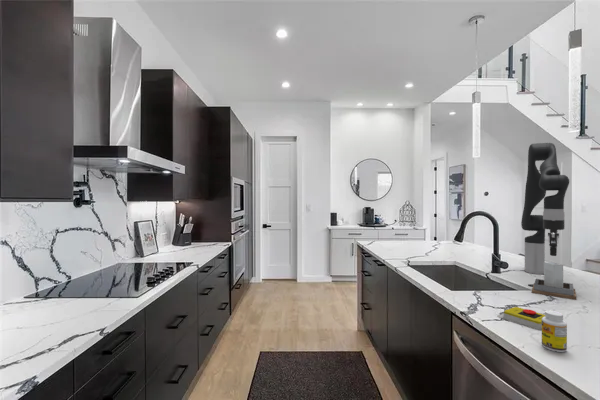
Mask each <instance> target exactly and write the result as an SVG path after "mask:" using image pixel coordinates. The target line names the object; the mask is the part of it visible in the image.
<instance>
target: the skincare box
mask: <svg viewBox="0 0 600 400" xmlns="http://www.w3.org/2000/svg"><path fill="white" fill-rule="evenodd" d="M543 280H544V285H545V286H552V287H559V288H563V283H564V264H562V263H558V262H553V261H545V262H544V274H543Z"/></svg>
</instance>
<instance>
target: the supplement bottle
mask: <svg viewBox="0 0 600 400" xmlns="http://www.w3.org/2000/svg"><path fill="white" fill-rule="evenodd" d="M544 312H545V313H544V315H545V317H543V318H542V331H541V346H542V347H544V348H545V349H546V350H549V351H552V352H555V351H557V353H565V352H566V351H567V349H568V346H567V345H568V323H567V322H566V321H565V320H564V314H563V313H561V312H559V311H555V310H550V309H549V310H545V311H544Z"/></svg>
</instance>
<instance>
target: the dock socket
mask: <svg viewBox="0 0 600 400" xmlns="http://www.w3.org/2000/svg"><path fill="white" fill-rule="evenodd" d="M531 293H532V294H537V295H543V296H550V297H555V298H556V297H557V298H562V299H569V300H574V301H577V294H576V293H577V292H576V288H574V284H573V283H570V282H563V288H559V287H552V286H545V285H544V279H541V278H535V280H534V283H533V285H532V288H531Z"/></svg>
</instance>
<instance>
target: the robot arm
mask: <svg viewBox="0 0 600 400" xmlns="http://www.w3.org/2000/svg"><path fill="white" fill-rule="evenodd" d="M557 156H558V155H557V148H556V146H555V144H554V143H552V142H538V143H531V144H530V145H529V146H528V153H527V172H526V173H527V175H526V181H525V182H526V183H525V191H524V203H523V204H524V205H523V211H522V216H521V223H520V224H521V225H520V226H521V228H522V230H524V231H527V232H529V231H530V232H535V233H534V234H532V235H531V234H530V235H528V236H526V237H524V272H526V273H529V274H534V275H535V274H536V275H544V262H546V256H545V255H546V253H545V251H546V250H545V248H546V245H545V244H546V230H549V232H547V237H548V246H549V255H550V256H552V257H556V256H557V253H558V250H557V249H558V244H559V239H560V233H558V231H562V230H565V210H564V209H565V206H564V205H565V203H564V202H565V196H566V193H567V191H568V187H569V185H570V179H569V177H568V176H567V175H565V174H561V171H560V168H559V165H558V159H557ZM536 161H537V162H541V163H540V166H539V169H538V168H537V165H536ZM547 191H553V192H554V191H557V193H555V194H552V195H548V196H546V195H547ZM542 200H543V212H542V214H532V212H533V210H534V209H535V208H536V206H537V205H539V204H540V203H541V201H542Z"/></svg>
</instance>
